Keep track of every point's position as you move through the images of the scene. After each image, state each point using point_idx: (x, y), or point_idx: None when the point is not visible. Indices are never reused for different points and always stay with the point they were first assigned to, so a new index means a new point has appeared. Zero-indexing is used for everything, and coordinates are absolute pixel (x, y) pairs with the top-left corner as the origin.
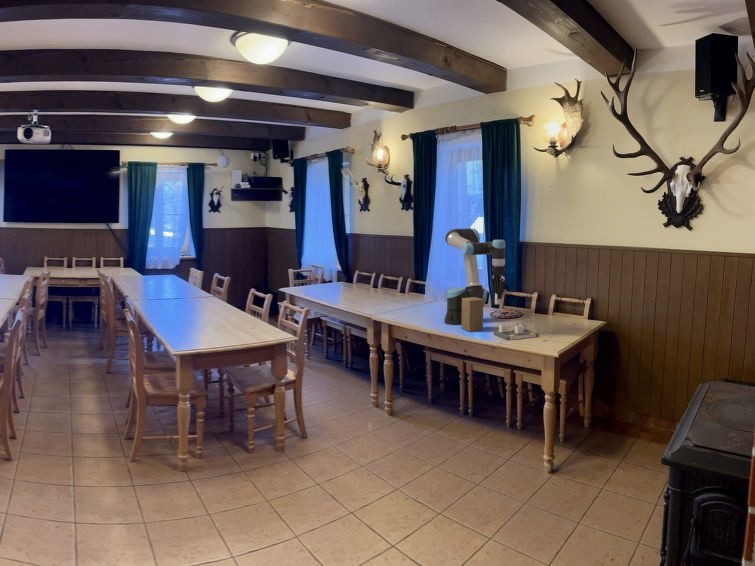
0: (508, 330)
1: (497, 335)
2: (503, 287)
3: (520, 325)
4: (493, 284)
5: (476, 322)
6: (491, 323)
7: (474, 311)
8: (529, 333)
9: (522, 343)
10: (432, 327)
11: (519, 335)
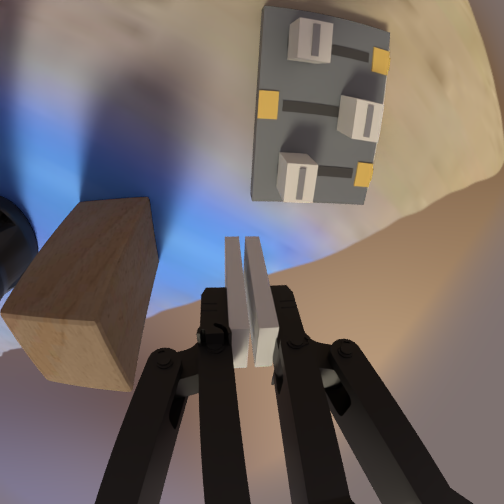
0: (271, 119)
1: None
2: (397, 414)
3: (314, 61)
4: (164, 475)
5: (145, 256)
6: (31, 89)
7: (136, 312)
8: (378, 72)
9: (418, 175)
10: None
11: None
